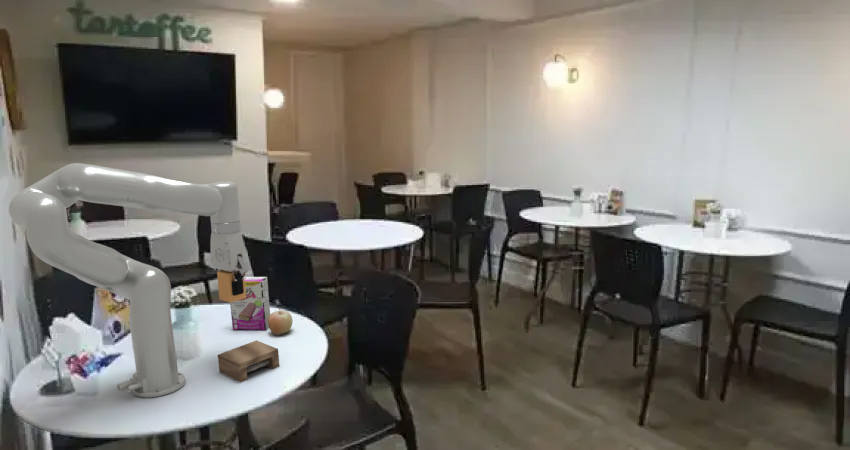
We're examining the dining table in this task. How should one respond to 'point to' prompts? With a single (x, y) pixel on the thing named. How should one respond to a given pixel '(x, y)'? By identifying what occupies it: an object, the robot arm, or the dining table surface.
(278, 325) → the fruit
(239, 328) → the candy bar box
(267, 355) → the shelf
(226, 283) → the upright orange cuboid
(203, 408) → the dining table surface
